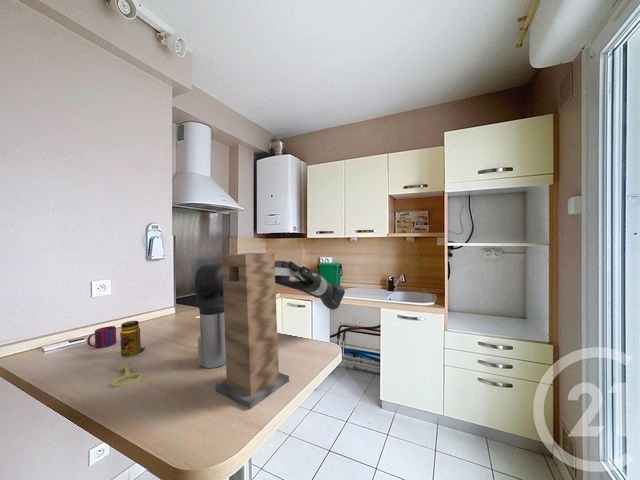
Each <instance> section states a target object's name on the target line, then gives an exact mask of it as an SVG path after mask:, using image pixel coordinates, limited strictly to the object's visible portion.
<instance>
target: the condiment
mask: <svg viewBox="0 0 640 480" xmlns="http://www.w3.org/2000/svg"><path fill="white" fill-rule="evenodd" d="M120 327H121V328H120V329H121V330H120V332H119V337H120V355H119V356H118V357H117V360H121V359H128V358H134V357H137V356H141V355H142V354H143V353H144V351H145V350H146V348H147V346H143V347H142V344H141V341H142V340H141V327H140V323H139V321H138V320H130V321H125V322H123V323H121V324H120Z"/></svg>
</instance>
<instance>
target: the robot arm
mask: <svg viewBox="0 0 640 480" xmlns="http://www.w3.org/2000/svg"><path fill="white" fill-rule="evenodd" d="M274 265H275V267H276V268H289V269H291V270H292V271H294V272H295V273H297V274H298V276H280V275H275V284H278V285H280V286H283V287H287V288H289V289H293V290H297V291H299V292H303V293H305V294H307V295H310V296H312V297H314V298H317V299H320V300H321V302H322V304H323V305H324V306H325V307H326V308H327V309H330V310H332V311H333V310H337V309H338V308H339V306H340V304H341V303H342V300H343V298H344V295H345V293H346V292H345V289H344V287H343V286H341V285H339V284H338V283H337V284H335V283H330V282H328V281H327V280H326V279H325V278H324V277H323V276H321V275H320V274H319V273H318V271H315V270H313V269H311V268H308V267H307V266H304V265H302V266H301V265H297V264H296V263H295V262H293V261H286V260H274ZM291 277H292V278H294V279H295V280H290V279H291ZM194 288H195V289H194V290H195V301H196V304H197V307H198V310H199V327H200V328H199V331H200V332H199V333H200V334H199V336H198V337H197V349H198V350H197V351H198V354H197V356H198V366H199V367H200V366H201V367H203V368H205V369H214V368H219V367H222V366H226V350H225V323H224V297H223V296H221V295H220V293H221V292H223V271H222V263H221V264H219V263H218V264H215V263H214V264H210V263H209V264H203V265H201V266H200V267H199V268H197V270H196V273H195V276H194Z"/></svg>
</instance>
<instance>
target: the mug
mask: <svg viewBox="0 0 640 480" xmlns="http://www.w3.org/2000/svg"><path fill="white" fill-rule="evenodd" d="M93 336H94V344H91V338H92V337H93ZM86 341H87V345H88V346H89V347H92V348H95V349H103V348H109V347H112V346H115V345H116V344H117V328H116V326H115V325H112V326H111V325H110V326H108V325H107V326H103V327H99V328H97V329H96V330H94V333H92V334H90V335H89V336H88V337H87V340H86Z"/></svg>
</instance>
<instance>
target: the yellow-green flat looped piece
mask: <svg viewBox="0 0 640 480" xmlns="http://www.w3.org/2000/svg"><path fill="white" fill-rule="evenodd" d="M118 370H119V371H121V370H124V374H123V375H122V376H120V377H118V378H116V379H114V380H113V381H112V382H111V385H110V386H111V388H121V387H125V386H128V385H131V384H133V383H136V382H138V381H141V379H142V378H143V374H142V373H140V372H135V373H131V372H130V364H129V363H126V364H125V365H124V366H120V367H119V368H118ZM132 378H134V379H133V380H130V381H128V382H125V383H120V382H123V381H126V380H129V379H132Z"/></svg>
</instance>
